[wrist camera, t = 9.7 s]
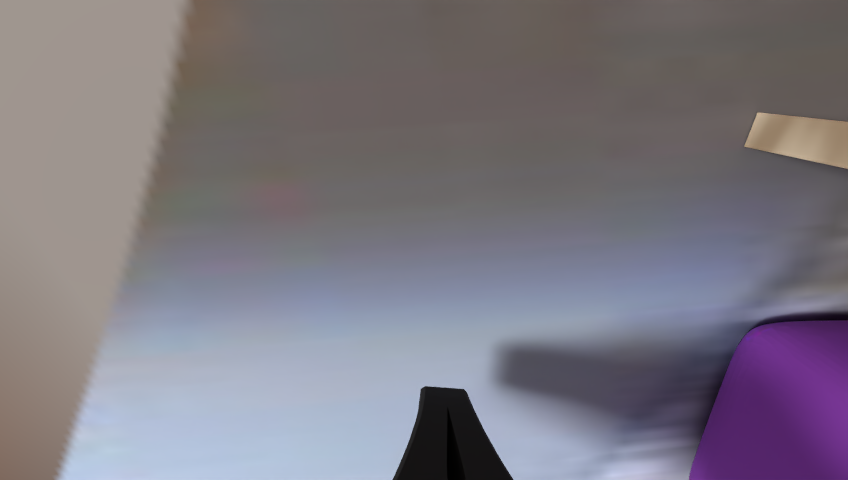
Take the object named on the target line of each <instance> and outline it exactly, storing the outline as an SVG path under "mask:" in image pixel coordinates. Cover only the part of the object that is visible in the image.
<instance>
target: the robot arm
mask: <svg viewBox="0 0 848 480" xmlns="http://www.w3.org/2000/svg"><path fill="white" fill-rule="evenodd" d="M393 480H513V478H512V477H511V475H510V474H509V472H508V471H507V469H506V467H505V466H504V464H503V463H502V461H501V459H500V458H499V456H498V454H497V453H496V451H495V449H494V447H493V445H492V444H491V442H490V440H489V438H488V436H487V435H486V433H485V431H484V429H483V427H482V425H481V423H480V421H479V419H478V417H477V415H476V413H475V411H474V409H473V406H472V404H471V402H470V399H469V397H468V394H467V392H466V391H465V390H464V389H454V388H440V387H427V386H425V387H423V388H422V389H421V393H420V401H419V409H418V414H417V418H416V422H415V425H414V428H413V431H412V434H411V437H410V440H409V443H408V445H407V448H406V450H405V453H404V455H403V458H402V460H401V462H400V465H399V467H398V469H397V472H396V474H395V476H394V478H393Z"/></svg>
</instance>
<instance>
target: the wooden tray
mask: <svg viewBox="0 0 848 480" xmlns="http://www.w3.org/2000/svg"><path fill="white" fill-rule="evenodd" d="M744 147H749V148H753V149H758V150H763V151H767V152H772V153H777V154H781V155H786V156H790V157H795V158H800V159H804V160H809V161H814V162H818V163H823V164H828V165H832V166H837V167H842V168H846V169H848V122H844V121H834V120H825V119H815V118H806V117H796V116H786V115H777V114H767V113H757V116H756V118H755V121H754V123H753V126H752V128H751V131H750V133H749V136H748V139H747V141H746V144H745V146H744Z"/></svg>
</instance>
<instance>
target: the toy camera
mask: <svg viewBox="0 0 848 480" xmlns="http://www.w3.org/2000/svg"><path fill="white" fill-rule="evenodd" d="M689 480H848V320H838V321H795V322H778V323H772V324H765V325H762V326H759V327H756V328H754V329H752V330H751V331H749V332H748V333H747V334H746V335H745V336H744V337H743V339H742V340H741V341H740V343H739V344H738V346H737V348H736V350H735V352H734V354H733V356H732V359H731V361H730V363H729V366H728V369H727V371H726V374H725V376H724V379H723V382H722V384H721V387H720V390H719V392H718V395H717V398H716V400H715V403H714V406H713V408H712V411H711V414H710V416H709V419H708V422H707V425H706V427H705V430H704V433H703V435H702V438H701V441H700V444H699V447H698V449H697V452H696V455H695V458H694V461H693V464H692V468H691V471H690V476H689Z"/></svg>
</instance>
